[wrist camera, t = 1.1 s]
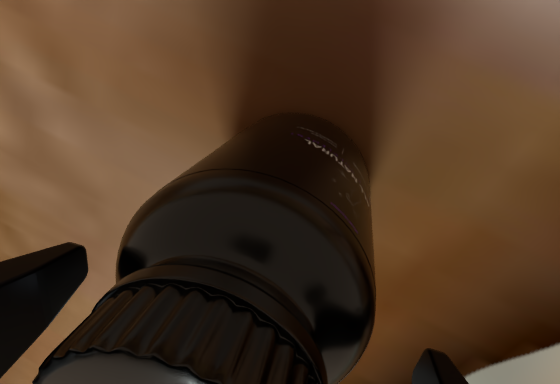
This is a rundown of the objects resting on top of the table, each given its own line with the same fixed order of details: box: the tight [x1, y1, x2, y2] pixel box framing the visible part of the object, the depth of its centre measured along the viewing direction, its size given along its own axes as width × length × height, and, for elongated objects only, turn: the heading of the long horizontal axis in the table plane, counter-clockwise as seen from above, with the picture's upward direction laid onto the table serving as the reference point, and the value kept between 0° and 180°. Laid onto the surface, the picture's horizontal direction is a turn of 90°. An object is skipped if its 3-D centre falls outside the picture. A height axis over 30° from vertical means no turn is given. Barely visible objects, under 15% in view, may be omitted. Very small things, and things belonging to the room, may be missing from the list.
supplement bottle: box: [32, 113, 376, 384], centre depth 10 cm, size 7×7×12 cm
